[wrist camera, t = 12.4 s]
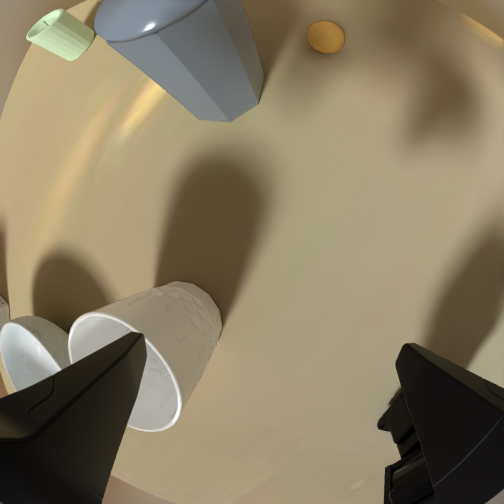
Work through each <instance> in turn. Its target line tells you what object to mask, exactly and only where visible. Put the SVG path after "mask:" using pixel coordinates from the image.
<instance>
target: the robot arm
mask: <svg viewBox="0 0 504 504" xmlns="http://www.w3.org/2000/svg"><path fill="white" fill-rule="evenodd" d="M146 360H147V349H146V342H145V336H144V334H143V333H139V332H133V331H132V332H130V333H128V334H126V335H124V336H122V337H121V338H119V339H117V340H115V341H113V342H111V343H110V344H108V345H106V346H104V347H102V348H101V349H99V350H97V351H95V352H93V353H91V354H90V355H88V356H86V357H84V358H82V359H80V360H79V361H77V362H75V363H73V364H71V365H69V366H68V367H66V368H64V369H62V370H60V371H58V372H57V373H55V374H54V375H51V376H49V377H47V378H45V379H43V380H41V381H39V382H37V383H35V384H33V385H31V386H29V387H27V388H24V389H22V390H20V391H17V392H15V393H12V394H10V395H8V396H5V397H2V398H0V504H102V499H103V497H104V493H105V490H106V486H107V483H108V480H109V477H110V474H111V470H112V467H113V464H114V461H115V458H116V455H117V452H118V449H119V446H120V443H121V440H122V437H123V435H124V432H125V429H126V426H127V423H128V421H129V418H130V415H131V412H132V410H133V407H134V404H135V402H136V399H137V396H138V392H139V388H140V384H141V380H142V376H143V372H144V368H145V364H146ZM396 370H397V373H398V377H399V380H400V384H401V387H402V391H403V392H402V394H401V395H400V396H399V398H398V399H397V400H396V402H395V403H394V404H393V405H392V407H391V408H390V409H389V410H388V412H387V413H386V414H385V415H384V416H383V418H382V419H381V420H380V421H379V422H378V424H377V427H378V429H379V430H384V431H389V432H391V435H392V438H393V441H394V443H396V444H397V447H398V450H399V454H400V457H401V460H399V461H397V462H396V463H394V464H392V465H389V466H387V467H385V485H384V504H504V388H502V387H500V386H498V385H496V384H494V383H492V382H490V381H488V380H486V379H483V378H482V377H480V376H478V375H476V374H474V373H472V372H470V371H468V370H466V369H464V368H462V367H460V366H458V365H456V364H454V363H452V362H450V361H448V360H447V359H445V358H443V357H441V356H439V355H437V354H435V353H433V352H431V351H429V350H427V349H425V348H423V347H421V346H419V345H417V344H415V343H406V344H404V345H403V346H402V348H401V351H400V353H399V355H398V358H397V360H396Z"/></svg>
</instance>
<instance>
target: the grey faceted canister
mask: <svg viewBox="0 0 504 504" xmlns="http://www.w3.org/2000/svg"><path fill="white" fill-rule="evenodd" d="M94 29H95V31H96V33H97V34H98V35H99V36H100V37H102V38H103V39H105V40H106V41H107V43H108V45H109V46H111V47H112V48H113V49H115V50H116V51H117V52H119V53H120V54H121V55H122V56H124V57H125V58H126V59H128V60H129V61H130V62H131V63H133V64H134V65H135V66H136V67H138V68H139V69H140V70H141V71H143V72H144V73H145V74H146V75H148V76H149V77H150V78H151V79H152V80H154V81H155V82H156V83H157V84H158V85H160V86H161V87H162V88H163V89H164V90H166V91H167V92H168V93H169V94H170V95H171V96H173V97H174V98H175V99H176V100H177V101H178V102H179V103H181V104H182V105H183V106H184V107H185V108H186V109H187V110H189V111H190V112H191V113H192V114H193V115H194V116H195V117H196V118H198V119H199V120H211V121H223V122H231V121H233V120H234V119H236V118H237V117H239V116H240V115H242V114H243V113H245V112H246V111H248V110H249V109H251V108H252V107H254V106H256V105H257V104H258V103H259V99H260V95H261V90H262V86H263V82H264V77H265V75H264V72H263V68H262V65H261V62H260V58H259V55H258V52H257V48H256V45H255V42H254V38H253V35H252V32H251V29H250V26H249V23H248V20H247V17H246V14H245V11H244V8H243V5H242V2H241V0H103V2H102V3H101V5H100V6H99V8H98V10H97V13H96V15H95V19H94Z"/></svg>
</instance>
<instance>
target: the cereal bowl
mask: <svg viewBox="0 0 504 504" xmlns="http://www.w3.org/2000/svg"><path fill="white" fill-rule="evenodd" d="M68 338H69V335H68V334H67V333H66V332H65V331H63V330H62V329H61V328H60V327H59V326H57V325H55V324H54V323H52V322H50V321H48V320H45V319H44V318H41V317H35V316H23V317H19V318H16V319H13V320H10V321H9V322H7V323H5V324H4V326H3V327H2V330H1V333H0V350H1V356H2V359H3V363H4V366H5V369H6V372H7V374H8V377H9V379H10V381H11V383H12V385H13V387H14V389H15V391H16V392H17V391H20V390H22V389H24V388H27V387H29V386H31V385H33V384H35V383H37V382H39V381H41V380H43V379H45V378H47V377H49V376H51V375H54V374H55V373H57V372H58V371H60V370H62V369H64V368H66V367H68V366H69V365H71V361H70V357H69V350H68Z"/></svg>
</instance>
